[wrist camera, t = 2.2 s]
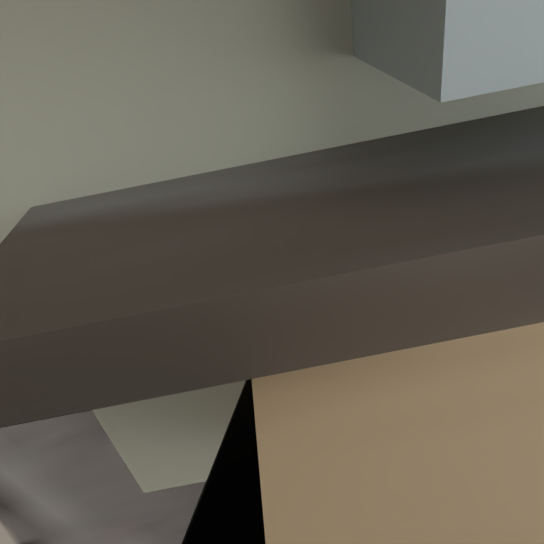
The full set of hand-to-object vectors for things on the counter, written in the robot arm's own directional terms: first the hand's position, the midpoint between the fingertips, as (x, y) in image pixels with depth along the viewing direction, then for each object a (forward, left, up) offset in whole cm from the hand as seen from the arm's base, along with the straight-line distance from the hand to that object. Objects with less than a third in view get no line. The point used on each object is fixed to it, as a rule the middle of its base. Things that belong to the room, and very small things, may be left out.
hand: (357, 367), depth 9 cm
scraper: (0, 0, -1) cm, 1 cm away
